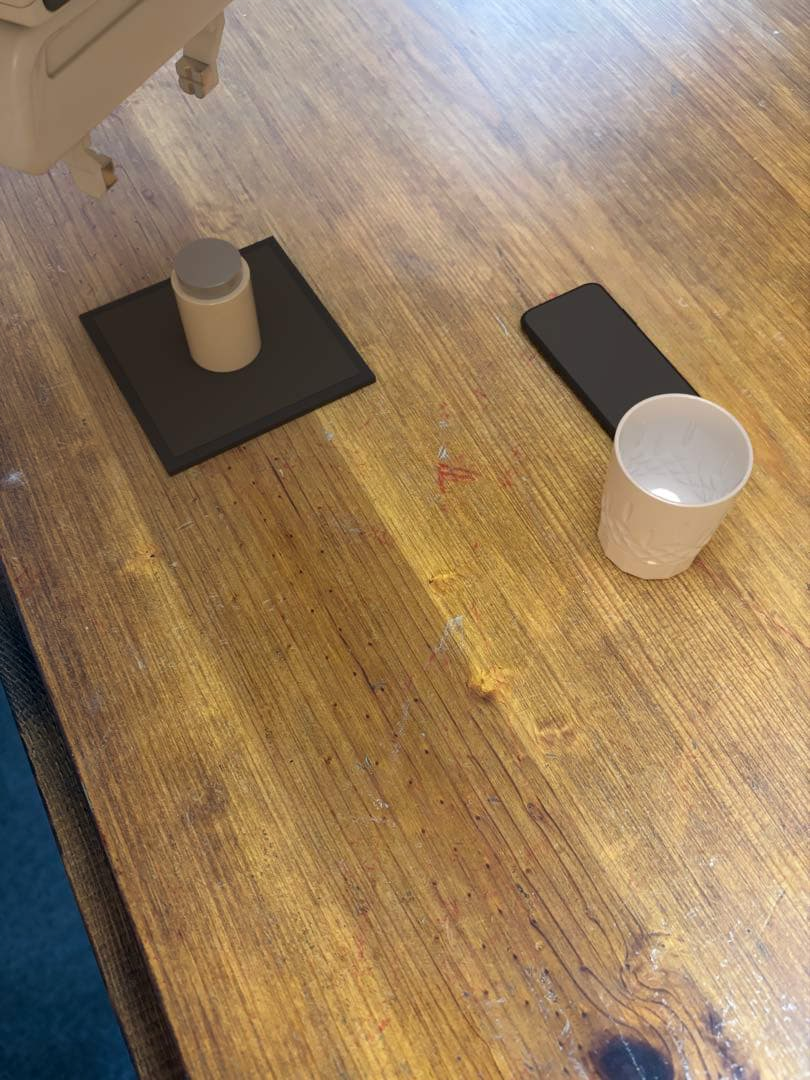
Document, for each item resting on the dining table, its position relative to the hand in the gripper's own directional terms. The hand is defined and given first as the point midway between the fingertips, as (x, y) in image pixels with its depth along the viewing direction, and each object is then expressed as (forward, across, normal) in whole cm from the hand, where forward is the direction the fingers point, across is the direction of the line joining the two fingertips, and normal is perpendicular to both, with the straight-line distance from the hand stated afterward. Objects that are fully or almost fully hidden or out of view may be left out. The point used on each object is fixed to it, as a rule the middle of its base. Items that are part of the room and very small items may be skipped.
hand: (150, 136), depth 59 cm
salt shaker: (+19, -2, 0) cm, 20 cm away
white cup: (+20, -3, +33) cm, 39 cm away
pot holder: (+20, -2, 0) cm, 20 cm away
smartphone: (+20, -14, +26) cm, 35 cm away
